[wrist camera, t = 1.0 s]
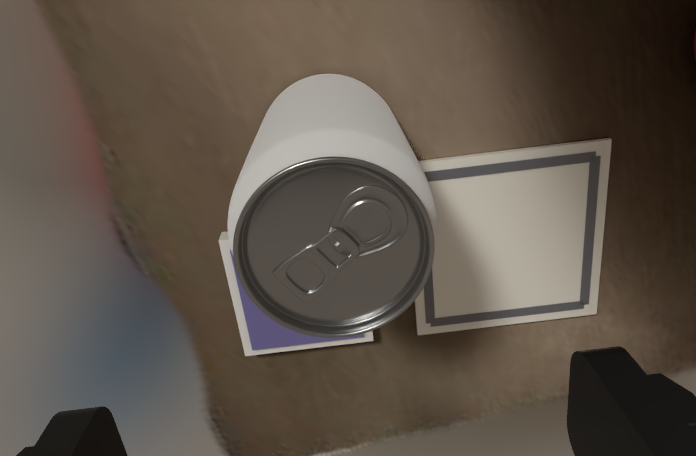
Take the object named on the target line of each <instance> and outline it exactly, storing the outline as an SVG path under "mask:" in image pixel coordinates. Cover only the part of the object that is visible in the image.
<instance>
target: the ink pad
mask: <svg viewBox="0 0 696 456" xmlns="http://www.w3.org/2000/svg"><path fill="white" fill-rule="evenodd" d="M219 245H220V249H221V253H222V258H223V262H224V266H225V271H226V275H227V279H228V283H229V288H230V292H231V296H232V301H233V305H234V309H235V314H236V318H237V322H238V326H239V331H240V335H241V339H242V344H243V348H244V352H245V356H251V355H259V354H268V353H276V352H284V351H293V350H301V349H310V348H318V347H326V346H335V345H343V344H352V343H360V342H368V341H373V332H372V331H370V332H367V333H364V334H360V335H356V336H351V337H342V338H323V337H315V336H310V335H305V334H302V333H298V332H295V331H293V330H290V329H288V328H286V327H284V326H282V325H280V324H278V323H277V322H275V321H273V320H272V319H271V318H269V317H268V316H267V315H265V314H264V313H263V312H262V311H261V310H260V309H259V308H258V307H257V306H256V305H255V304H254V303H253V302H252V300H251V299H250V298H249V296H248V295H247V294H246V292H245V290H244V288H243V287H242V285H241V283H240V280H239V278H238V275H237V272H236V268H235V264H234V257H233V254H232V251H231V248H230V243H229V238H228V232H222V233H221V236H220V238H219Z"/></svg>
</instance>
